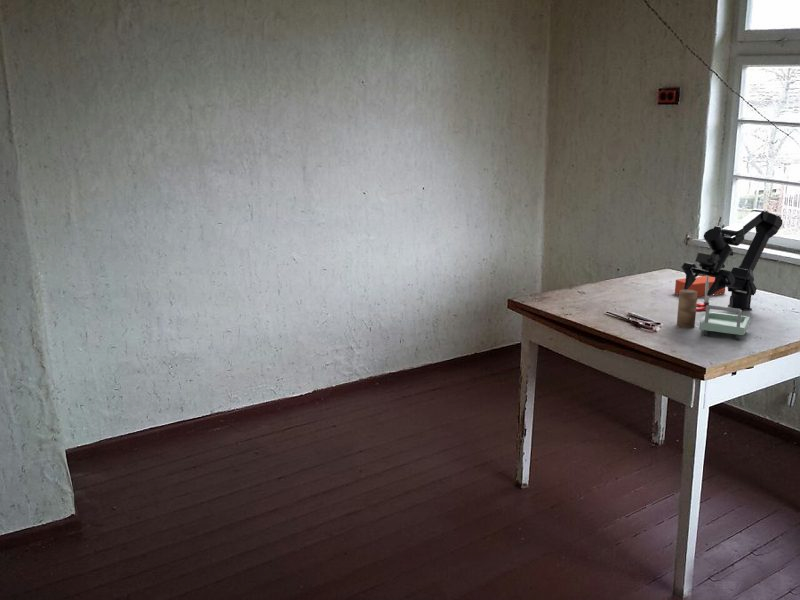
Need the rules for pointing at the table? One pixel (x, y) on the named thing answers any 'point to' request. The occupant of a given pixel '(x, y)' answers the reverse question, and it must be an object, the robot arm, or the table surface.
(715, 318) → the parts cart
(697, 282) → the brick
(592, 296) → the table surface
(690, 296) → the brown cylinder
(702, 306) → the tow hook
